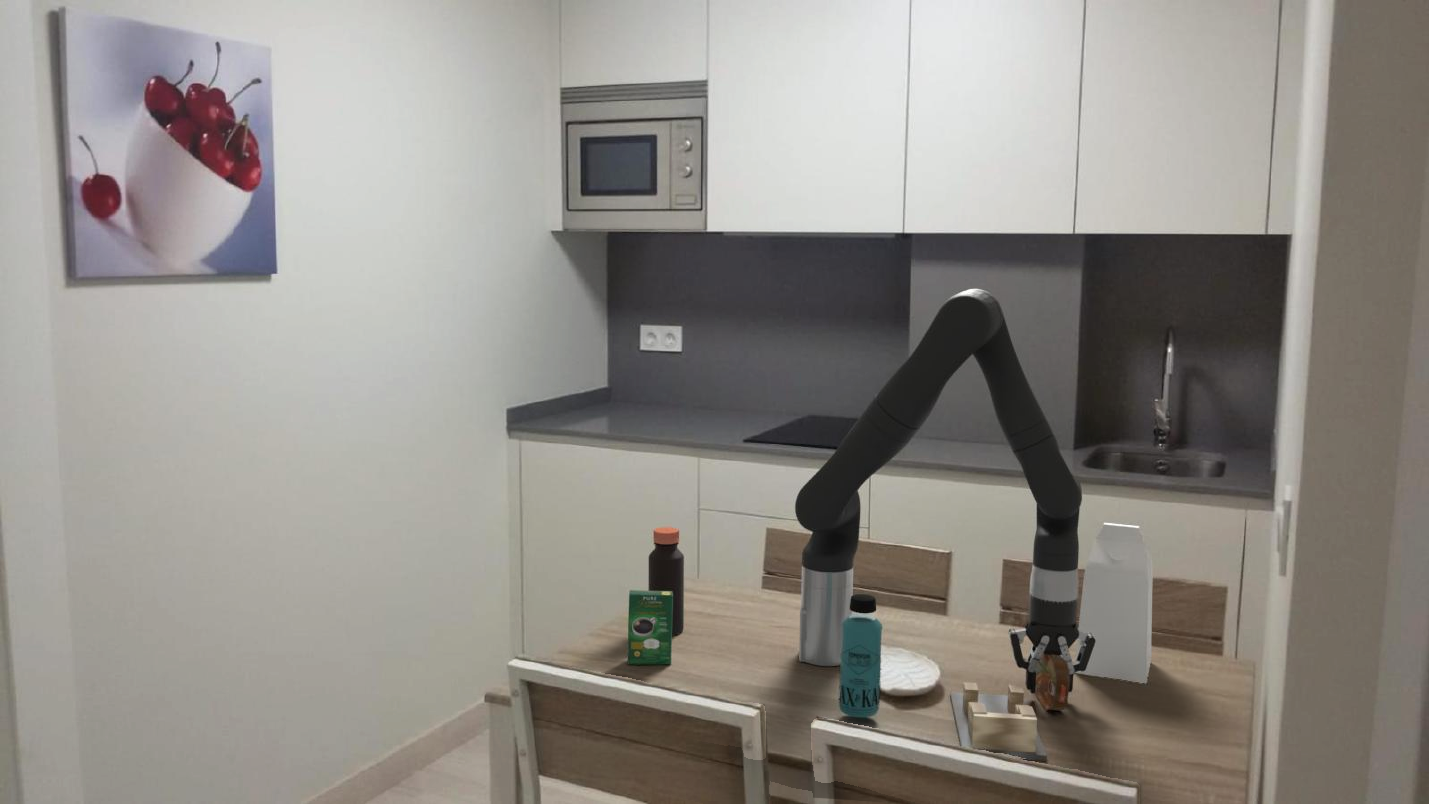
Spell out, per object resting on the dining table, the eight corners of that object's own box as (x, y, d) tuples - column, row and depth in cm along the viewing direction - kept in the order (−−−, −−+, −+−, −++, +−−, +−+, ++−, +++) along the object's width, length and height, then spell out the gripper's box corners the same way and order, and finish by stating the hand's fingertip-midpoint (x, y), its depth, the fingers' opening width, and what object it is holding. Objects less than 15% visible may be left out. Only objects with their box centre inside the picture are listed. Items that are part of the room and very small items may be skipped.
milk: (1150, 662, 202) (1160, 522, 198) (1146, 684, 191) (1155, 536, 188) (1081, 651, 207) (1089, 514, 203) (1073, 672, 196) (1081, 528, 193)
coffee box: (672, 659, 201) (673, 589, 199) (672, 665, 198) (673, 594, 196) (627, 659, 200) (627, 589, 199) (627, 665, 198) (627, 594, 196)
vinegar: (690, 629, 217) (690, 529, 214) (670, 639, 211) (670, 536, 209) (661, 622, 221) (662, 524, 218) (641, 632, 215) (641, 531, 212)
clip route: (962, 755, 163) (964, 718, 163) (950, 696, 185) (951, 663, 184) (1046, 761, 162) (1048, 722, 161) (1024, 701, 183) (1025, 667, 183)
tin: (1027, 683, 191) (1029, 635, 190) (1045, 683, 191) (1048, 636, 190) (1050, 719, 177) (1053, 668, 175) (1070, 719, 176) (1073, 668, 175)
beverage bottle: (834, 710, 179) (837, 590, 176) (875, 709, 179) (878, 589, 177) (842, 728, 172) (845, 603, 170) (884, 726, 173) (888, 602, 170)
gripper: (1011, 597, 179) (1007, 699, 181) (1104, 601, 177) (1098, 704, 179) (1005, 583, 186) (1001, 681, 188) (1094, 587, 184) (1088, 686, 187)
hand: (1048, 692), depth 184 cm, fingers open, 4 cm apart
